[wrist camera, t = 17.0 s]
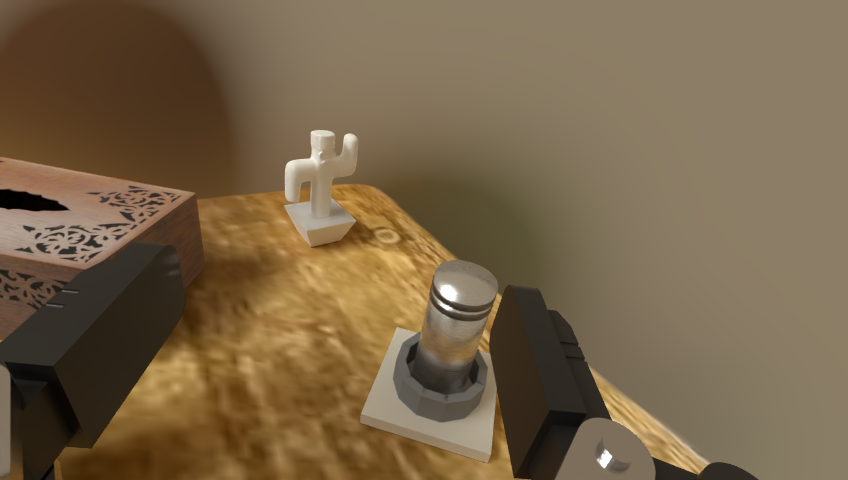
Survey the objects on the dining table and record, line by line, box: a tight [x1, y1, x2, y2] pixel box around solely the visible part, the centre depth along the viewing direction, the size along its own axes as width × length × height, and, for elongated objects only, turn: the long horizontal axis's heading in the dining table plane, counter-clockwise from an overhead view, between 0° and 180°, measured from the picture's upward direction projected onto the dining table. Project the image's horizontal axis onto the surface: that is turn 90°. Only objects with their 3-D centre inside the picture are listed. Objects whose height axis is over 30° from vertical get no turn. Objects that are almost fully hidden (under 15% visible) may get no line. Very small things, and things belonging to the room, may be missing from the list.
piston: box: [411, 260, 498, 395], centre depth 35 cm, size 5×5×12 cm
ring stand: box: [360, 327, 497, 463], centre depth 38 cm, size 11×11×4 cm
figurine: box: [284, 130, 358, 247], centre depth 55 cm, size 7×9×15 cm
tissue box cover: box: [0, 156, 205, 340], centre depth 40 cm, size 26×14×10 cm, turn 85°
